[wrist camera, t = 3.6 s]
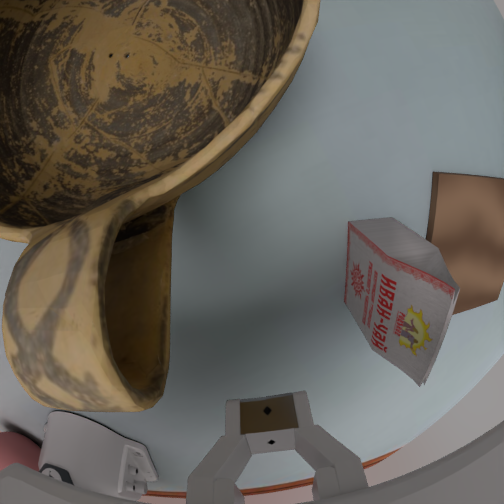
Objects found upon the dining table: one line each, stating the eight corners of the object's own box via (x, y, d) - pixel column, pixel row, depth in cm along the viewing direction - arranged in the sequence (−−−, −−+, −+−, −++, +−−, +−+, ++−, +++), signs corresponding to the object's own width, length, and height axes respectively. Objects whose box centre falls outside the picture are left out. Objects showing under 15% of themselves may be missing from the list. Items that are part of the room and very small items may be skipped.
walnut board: (493, 296, 24) (497, 299, 23) (408, 321, 24) (412, 326, 23) (518, 180, 18) (523, 182, 18) (432, 171, 18) (438, 173, 17)
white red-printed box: (391, 217, 19) (482, 281, 10) (383, 294, 22) (445, 376, 13) (348, 221, 19) (429, 295, 10) (344, 301, 22) (396, 395, 13)
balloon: (45, 463, 38) (32, 509, 24) (-11, 412, 30) (-34, 462, 16) (87, 473, 38) (75, 528, 24) (24, 421, 30) (-1, 485, 16)
